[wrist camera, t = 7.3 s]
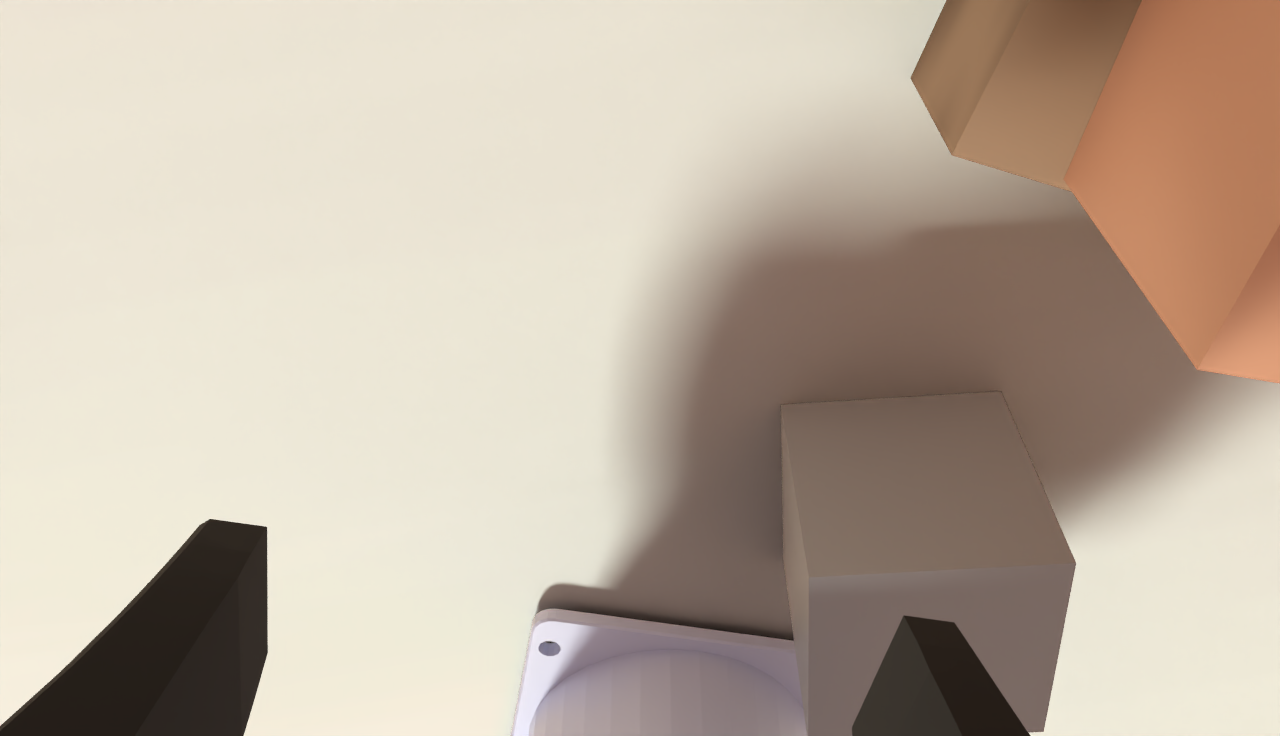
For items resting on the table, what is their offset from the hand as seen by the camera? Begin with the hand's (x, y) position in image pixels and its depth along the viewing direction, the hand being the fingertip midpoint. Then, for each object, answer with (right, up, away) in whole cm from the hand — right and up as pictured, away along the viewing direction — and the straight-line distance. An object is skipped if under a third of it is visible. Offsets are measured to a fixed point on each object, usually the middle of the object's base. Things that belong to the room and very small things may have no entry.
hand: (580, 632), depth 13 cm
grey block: (+6, +1, +12) cm, 13 cm away
